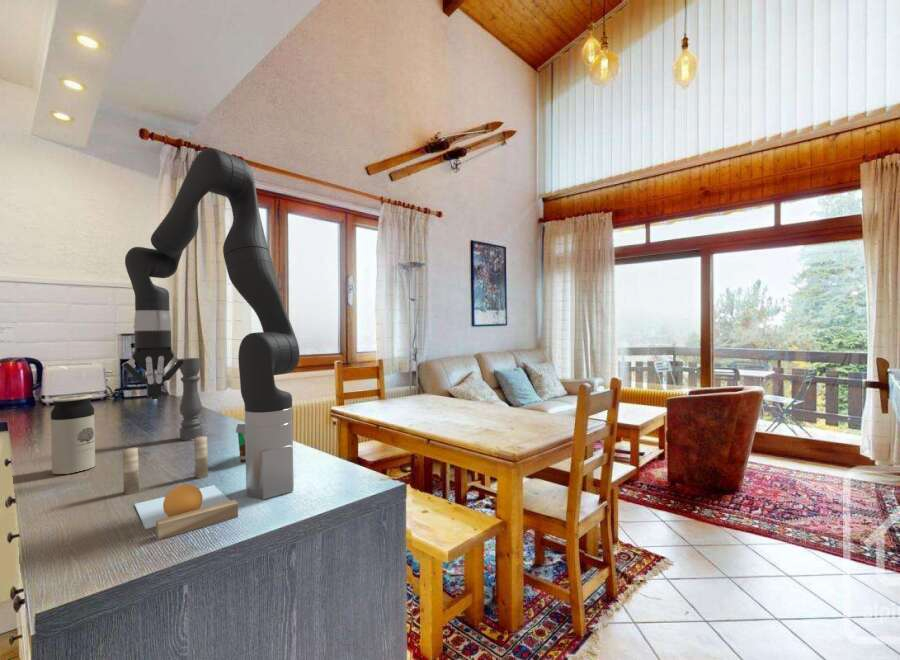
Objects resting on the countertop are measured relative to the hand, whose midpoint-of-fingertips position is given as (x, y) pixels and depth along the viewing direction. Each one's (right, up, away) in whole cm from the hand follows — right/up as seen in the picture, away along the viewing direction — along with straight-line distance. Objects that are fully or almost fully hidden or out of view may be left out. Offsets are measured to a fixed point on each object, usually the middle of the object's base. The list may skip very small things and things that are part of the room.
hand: (154, 398), depth 106 cm
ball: (+25, -14, -29) cm, 41 cm away
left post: (+6, -17, -16) cm, 24 cm away
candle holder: (-8, -17, +28) cm, 34 cm away
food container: (+24, -17, +7) cm, 30 cm away
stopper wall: (+30, -17, -32) cm, 47 cm away
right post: (+16, -17, -7) cm, 24 cm away
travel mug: (-19, -18, -1) cm, 26 cm away
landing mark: (+22, -17, -23) cm, 36 cm away
